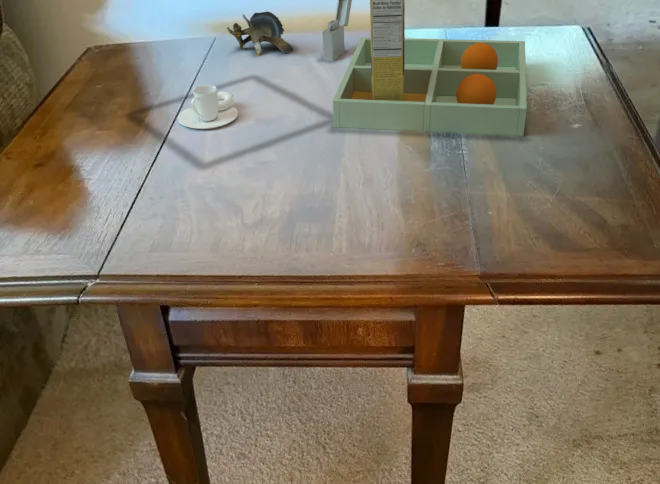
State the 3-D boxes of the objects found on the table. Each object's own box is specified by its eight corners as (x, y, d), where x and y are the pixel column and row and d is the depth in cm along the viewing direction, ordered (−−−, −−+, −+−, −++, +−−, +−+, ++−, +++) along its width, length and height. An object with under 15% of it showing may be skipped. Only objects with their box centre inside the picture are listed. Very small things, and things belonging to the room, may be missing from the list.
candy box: (372, 94, 104) (372, -25, 94) (404, 94, 103) (407, -26, 94) (369, 122, 97) (369, -3, 87) (403, 122, 96) (407, -4, 87)
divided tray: (521, 69, 111) (524, 40, 108) (522, 140, 93) (527, 108, 90) (361, 64, 115) (361, 37, 112) (333, 131, 97) (332, 100, 94)
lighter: (333, 62, 116) (331, 7, 111) (323, 60, 117) (321, 6, 112) (352, 46, 121) (352, -6, 116) (342, 45, 122) (341, -7, 117)
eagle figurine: (228, 54, 117) (284, 44, 115) (224, 7, 117) (279, -4, 114) (246, 66, 125) (299, 56, 122) (242, 21, 124) (295, 11, 122)
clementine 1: (496, 73, 108) (500, 38, 105) (495, 87, 104) (499, 50, 101) (460, 72, 109) (463, 37, 106) (458, 86, 105) (461, 49, 102)
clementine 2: (494, 106, 100) (498, 68, 96) (494, 122, 96) (498, 83, 93) (455, 104, 100) (458, 67, 97) (453, 120, 97) (456, 82, 94)
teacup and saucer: (223, 100, 106) (220, 71, 104) (254, 118, 101) (251, 88, 99) (167, 118, 102) (162, 88, 100) (197, 137, 97) (192, 107, 95)
